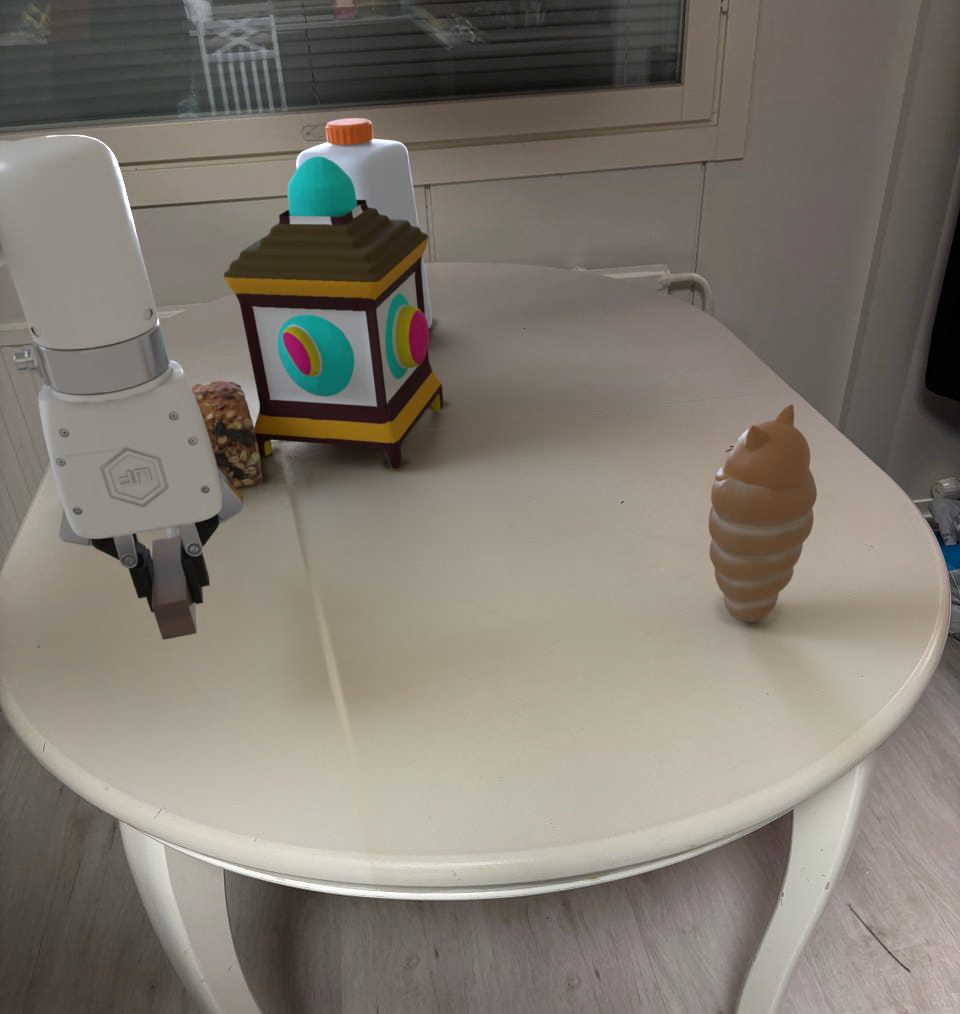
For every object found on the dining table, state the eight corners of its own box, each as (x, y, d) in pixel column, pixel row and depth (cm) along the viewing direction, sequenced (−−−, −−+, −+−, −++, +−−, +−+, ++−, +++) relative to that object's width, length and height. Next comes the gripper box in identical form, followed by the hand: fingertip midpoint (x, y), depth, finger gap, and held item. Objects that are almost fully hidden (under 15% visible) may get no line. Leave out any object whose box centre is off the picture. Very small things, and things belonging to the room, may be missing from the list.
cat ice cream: (738, 578, 85) (763, 385, 75) (816, 613, 81) (855, 412, 70) (675, 620, 81) (693, 421, 70) (754, 660, 76) (786, 452, 65)
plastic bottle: (301, 345, 139) (265, 130, 122) (360, 313, 149) (335, 110, 132) (388, 360, 132) (363, 134, 116) (443, 325, 143) (428, 113, 126)
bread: (255, 451, 111) (238, 368, 105) (268, 491, 103) (250, 403, 97) (88, 481, 107) (60, 397, 101) (88, 526, 99) (58, 436, 93)
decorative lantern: (458, 405, 119) (440, 136, 101) (407, 479, 104) (376, 178, 86) (309, 396, 124) (267, 137, 105) (240, 465, 108) (177, 177, 90)
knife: (197, 633, 69) (187, 599, 67) (162, 640, 68) (151, 606, 66) (189, 500, 84) (181, 469, 82) (161, 504, 83) (152, 474, 82)
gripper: (-40, 400, 56) (61, 648, 67) (237, 359, 59) (290, 604, 70) (-20, 356, 62) (69, 592, 73) (231, 321, 65) (280, 553, 76)
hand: (177, 596), depth 71 cm, fingers closed on knife, 2 cm apart
